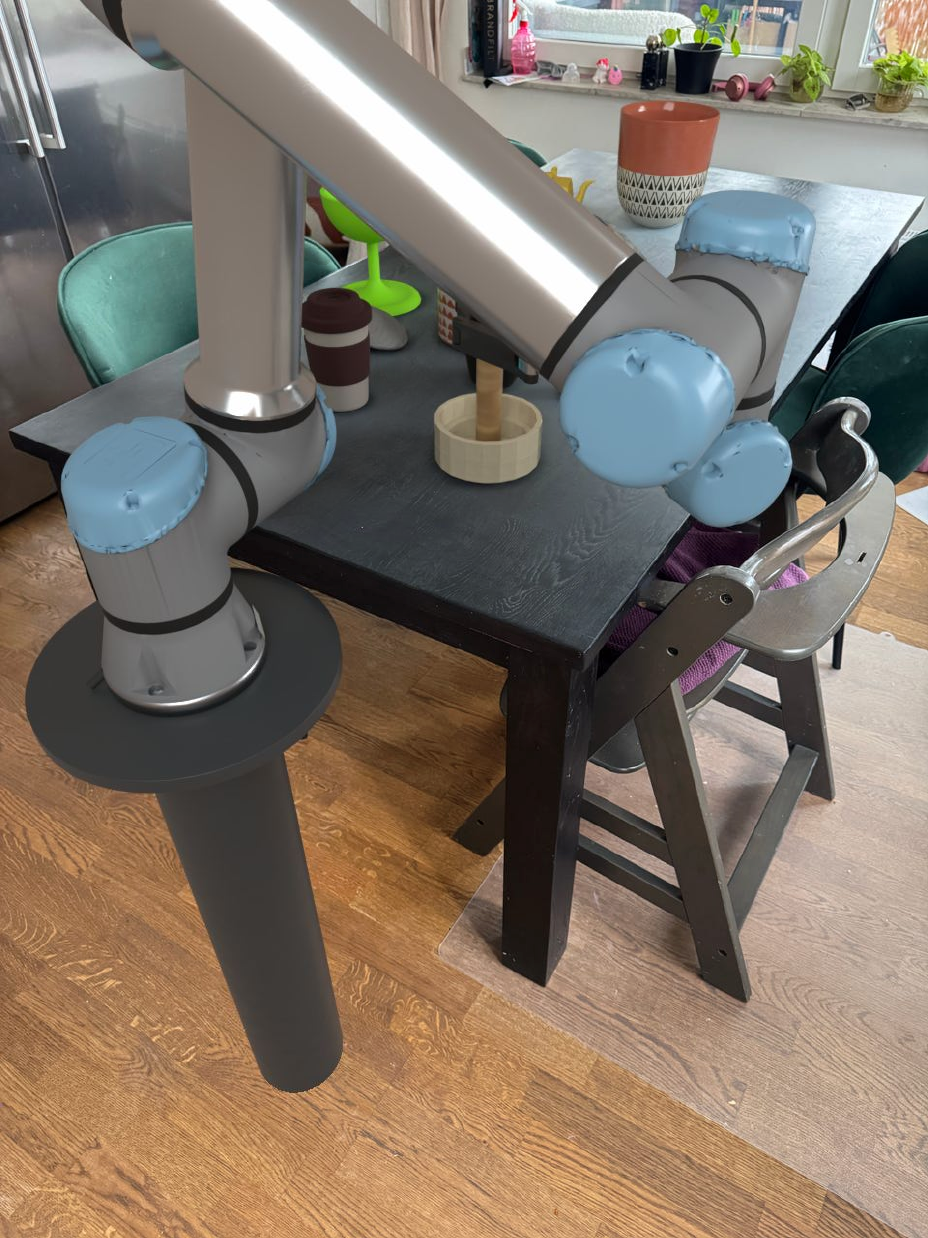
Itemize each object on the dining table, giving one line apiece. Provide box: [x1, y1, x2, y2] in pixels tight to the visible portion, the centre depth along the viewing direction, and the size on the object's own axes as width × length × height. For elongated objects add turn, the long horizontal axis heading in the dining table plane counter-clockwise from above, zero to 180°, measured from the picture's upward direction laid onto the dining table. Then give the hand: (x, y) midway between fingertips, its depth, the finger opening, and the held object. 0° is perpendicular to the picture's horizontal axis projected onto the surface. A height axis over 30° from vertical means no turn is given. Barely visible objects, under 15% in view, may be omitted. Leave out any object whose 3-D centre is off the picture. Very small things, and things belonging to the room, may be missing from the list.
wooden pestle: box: [475, 358, 504, 442], centre depth 104 cm, size 4×4×18 cm
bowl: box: [433, 392, 543, 484], centre depth 109 cm, size 13×13×6 cm
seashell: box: [368, 306, 408, 351], centre depth 136 cm, size 12×6×10 cm
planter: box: [616, 100, 722, 229], centre depth 177 cm, size 20×20×21 cm
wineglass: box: [319, 186, 422, 317], centre depth 145 cm, size 16×16×18 cm
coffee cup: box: [302, 287, 372, 413], centre depth 118 cm, size 10×10×15 cm
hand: (527, 286), depth 81 cm, fingers open, 13 cm apart
